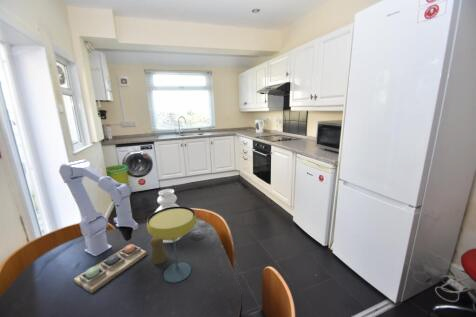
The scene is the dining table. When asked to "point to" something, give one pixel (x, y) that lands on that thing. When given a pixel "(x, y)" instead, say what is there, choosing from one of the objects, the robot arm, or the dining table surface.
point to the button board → (110, 269)
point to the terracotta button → (129, 249)
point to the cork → (157, 251)
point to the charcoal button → (112, 260)
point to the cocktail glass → (173, 235)
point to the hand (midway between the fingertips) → (128, 239)
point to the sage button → (92, 272)
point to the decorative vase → (167, 204)
